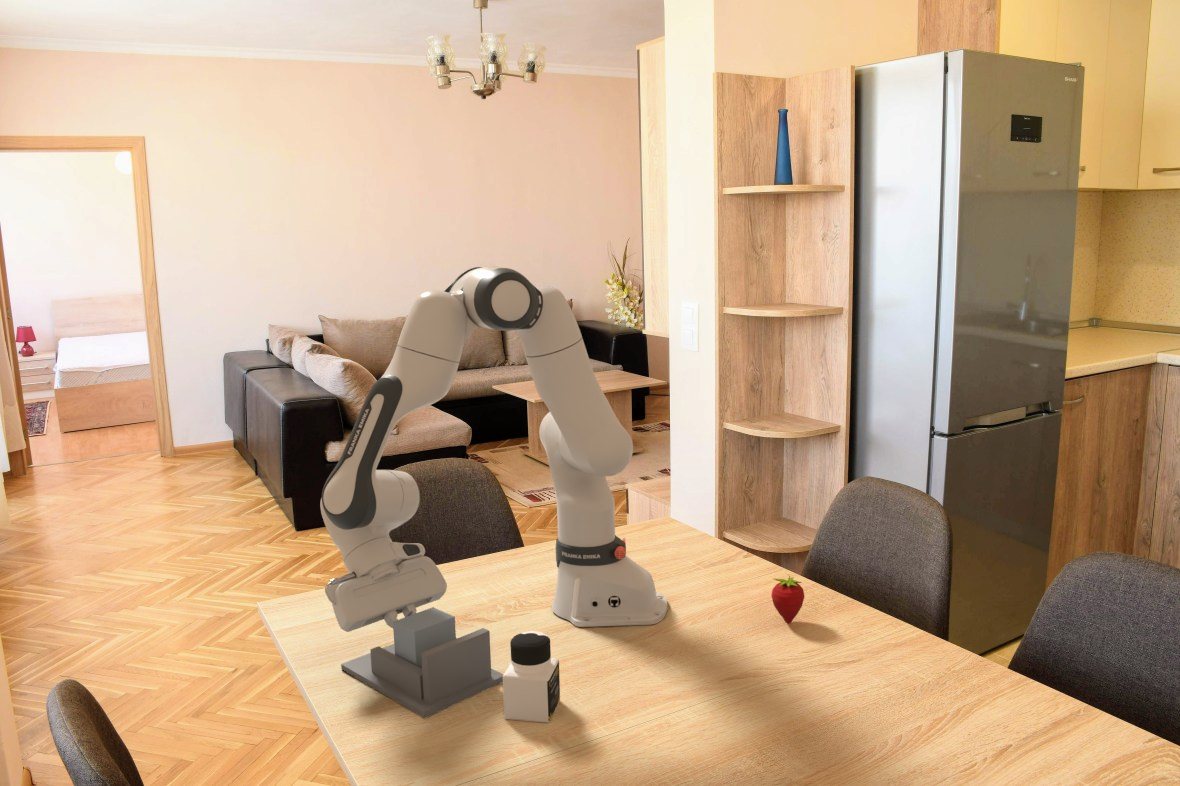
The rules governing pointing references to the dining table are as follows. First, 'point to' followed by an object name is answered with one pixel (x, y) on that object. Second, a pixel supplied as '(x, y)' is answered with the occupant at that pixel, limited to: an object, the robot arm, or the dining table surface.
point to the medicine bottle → (531, 679)
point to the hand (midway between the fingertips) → (410, 634)
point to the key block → (422, 633)
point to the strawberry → (788, 598)
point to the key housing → (430, 673)
